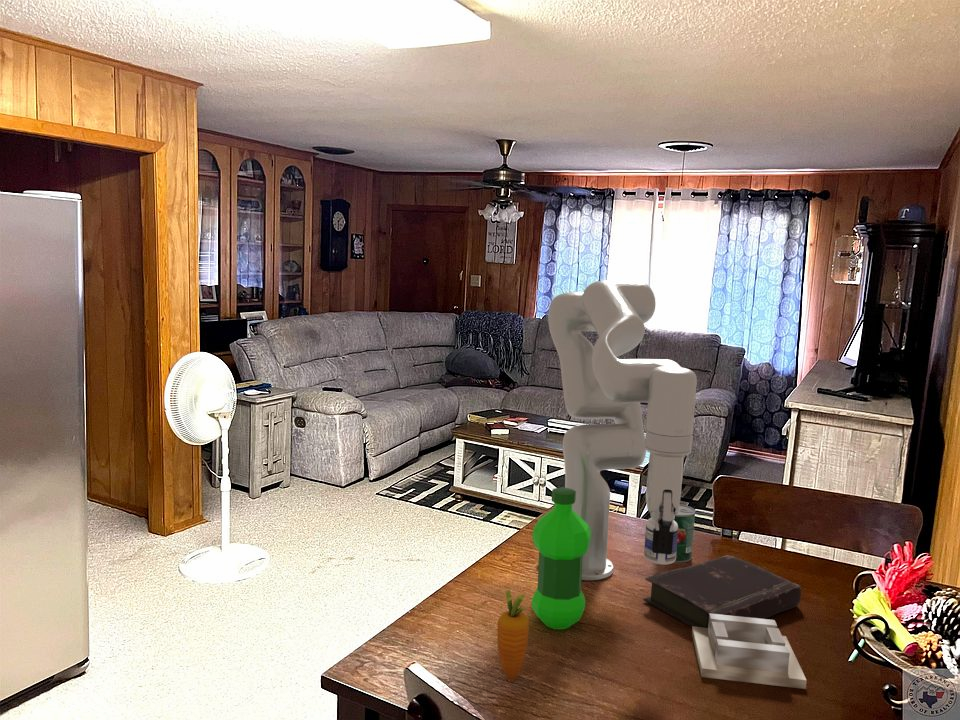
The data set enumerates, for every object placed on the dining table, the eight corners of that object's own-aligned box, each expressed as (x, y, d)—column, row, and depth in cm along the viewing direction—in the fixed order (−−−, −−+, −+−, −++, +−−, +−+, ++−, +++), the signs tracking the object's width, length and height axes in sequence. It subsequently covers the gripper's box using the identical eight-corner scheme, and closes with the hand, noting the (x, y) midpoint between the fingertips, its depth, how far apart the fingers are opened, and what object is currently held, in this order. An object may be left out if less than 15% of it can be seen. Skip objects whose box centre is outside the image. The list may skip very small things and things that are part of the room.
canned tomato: (656, 560, 167) (659, 513, 166) (656, 547, 175) (659, 501, 173) (692, 564, 165) (696, 516, 164) (691, 551, 173) (694, 505, 171)
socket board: (701, 676, 121) (703, 648, 121) (691, 634, 135) (693, 607, 134) (805, 689, 119) (808, 659, 118) (785, 644, 132) (787, 617, 132)
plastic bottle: (589, 614, 141) (596, 486, 138) (579, 641, 131) (586, 503, 128) (537, 605, 144) (543, 479, 141) (524, 631, 134) (529, 496, 131)
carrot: (493, 673, 120) (496, 585, 118) (524, 673, 121) (528, 585, 119) (497, 691, 116) (500, 599, 113) (529, 691, 116) (532, 599, 114)
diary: (801, 609, 146) (803, 585, 146) (718, 643, 132) (720, 616, 132) (722, 573, 161) (724, 550, 161) (640, 600, 147) (642, 575, 147)
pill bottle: (673, 553, 130) (677, 504, 128) (678, 566, 124) (682, 515, 123) (642, 551, 130) (645, 502, 129) (645, 564, 125) (649, 513, 123)
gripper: (642, 427, 133) (636, 525, 136) (648, 454, 116) (640, 564, 119) (686, 430, 132) (678, 529, 135) (697, 457, 115) (688, 569, 118)
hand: (660, 544), depth 127 cm, fingers closed on pill bottle, 5 cm apart
